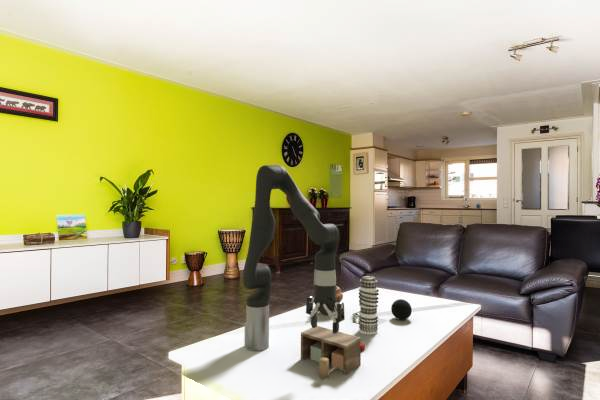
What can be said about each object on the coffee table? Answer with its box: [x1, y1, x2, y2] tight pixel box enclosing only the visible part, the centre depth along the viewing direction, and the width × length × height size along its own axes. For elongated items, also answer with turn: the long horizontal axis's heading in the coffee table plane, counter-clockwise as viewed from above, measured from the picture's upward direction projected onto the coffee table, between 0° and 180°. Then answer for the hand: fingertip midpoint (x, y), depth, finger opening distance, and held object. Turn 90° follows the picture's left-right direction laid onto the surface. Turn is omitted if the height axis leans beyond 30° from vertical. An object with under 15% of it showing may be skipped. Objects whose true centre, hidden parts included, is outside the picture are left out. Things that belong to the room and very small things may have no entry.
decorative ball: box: [390, 298, 412, 321], centre depth 184 cm, size 10×10×10 cm
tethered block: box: [318, 348, 344, 380], centre depth 127 cm, size 5×15×6 cm, turn 142°
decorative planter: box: [320, 285, 344, 316], centre depth 192 cm, size 20×12×14 cm, turn 141°
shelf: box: [300, 325, 362, 376], centre depth 134 cm, size 20×10×10 cm, turn 52°
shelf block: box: [309, 342, 321, 363], centre depth 137 cm, size 5×5×5 cm
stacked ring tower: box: [358, 275, 380, 336], centre depth 166 cm, size 9×9×25 cm
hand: (324, 330), depth 123 cm, fingers open, 8 cm apart
